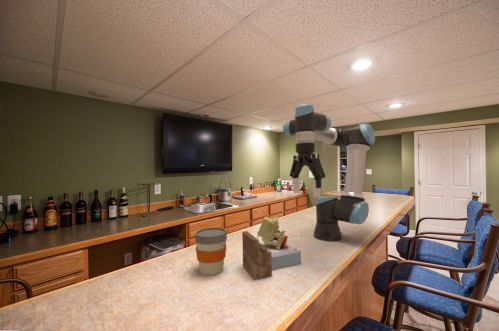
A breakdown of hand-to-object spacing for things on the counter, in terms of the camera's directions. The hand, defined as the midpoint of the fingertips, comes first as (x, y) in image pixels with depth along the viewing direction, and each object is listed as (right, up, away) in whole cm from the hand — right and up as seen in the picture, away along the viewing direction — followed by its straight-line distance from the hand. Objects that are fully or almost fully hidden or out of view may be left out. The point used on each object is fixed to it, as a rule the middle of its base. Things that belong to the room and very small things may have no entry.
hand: (306, 194), depth 86 cm
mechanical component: (-9, -29, +20) cm, 37 cm away
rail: (-12, -29, -1) cm, 31 cm away
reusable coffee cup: (-38, -30, -3) cm, 48 cm away
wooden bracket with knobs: (-20, -29, -4) cm, 35 cm away
